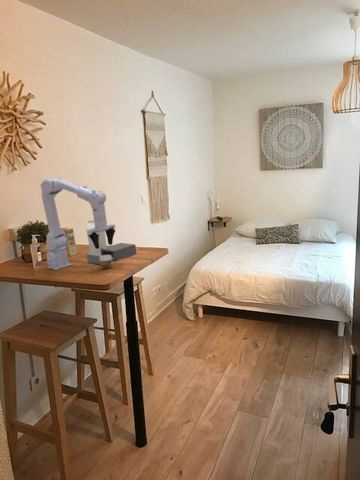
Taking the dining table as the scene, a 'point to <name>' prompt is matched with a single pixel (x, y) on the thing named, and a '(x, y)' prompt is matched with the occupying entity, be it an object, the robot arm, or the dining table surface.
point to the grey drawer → (97, 258)
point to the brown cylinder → (106, 264)
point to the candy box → (70, 241)
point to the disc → (105, 258)
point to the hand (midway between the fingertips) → (103, 246)
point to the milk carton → (101, 240)
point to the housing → (119, 250)
